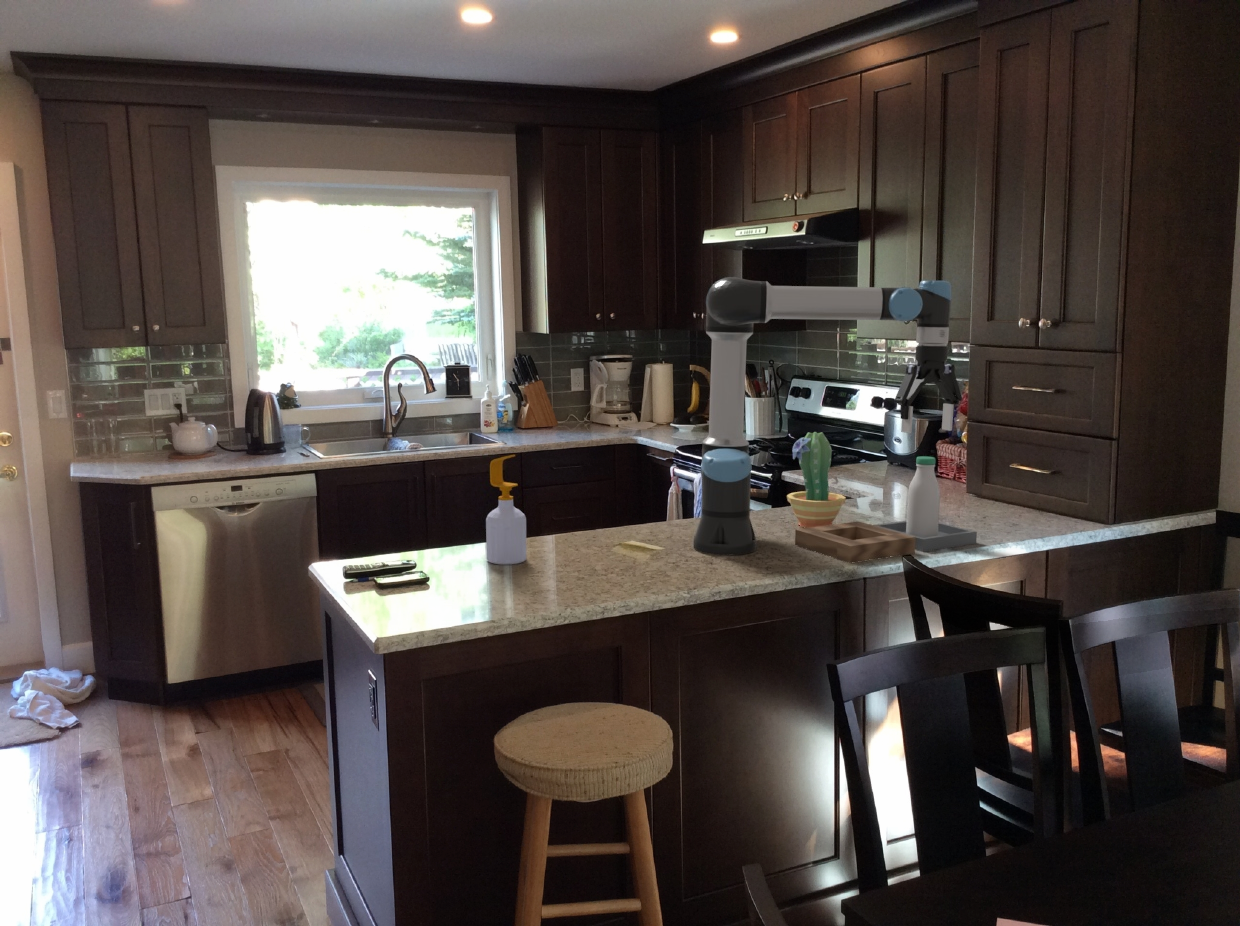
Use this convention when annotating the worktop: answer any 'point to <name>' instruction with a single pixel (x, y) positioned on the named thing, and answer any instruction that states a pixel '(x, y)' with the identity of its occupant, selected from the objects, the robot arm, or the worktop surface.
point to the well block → (855, 541)
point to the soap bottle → (505, 523)
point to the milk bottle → (923, 500)
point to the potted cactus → (814, 483)
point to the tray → (945, 538)
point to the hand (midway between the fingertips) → (926, 431)
